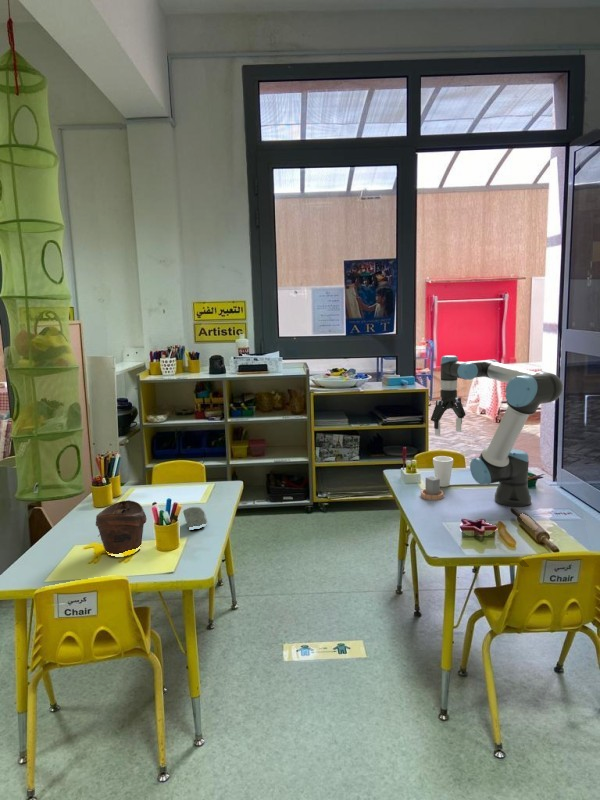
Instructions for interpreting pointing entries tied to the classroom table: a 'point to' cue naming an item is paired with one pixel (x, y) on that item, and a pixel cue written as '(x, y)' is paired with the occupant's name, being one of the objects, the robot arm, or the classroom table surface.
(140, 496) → the classroom table surface
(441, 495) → the terracotta dish
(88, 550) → the classroom table surface
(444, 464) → the foam cup
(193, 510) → the decorative stone
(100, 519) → the chocolate muffin
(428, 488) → the stone block
